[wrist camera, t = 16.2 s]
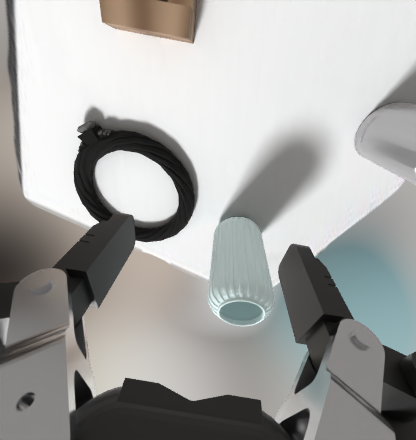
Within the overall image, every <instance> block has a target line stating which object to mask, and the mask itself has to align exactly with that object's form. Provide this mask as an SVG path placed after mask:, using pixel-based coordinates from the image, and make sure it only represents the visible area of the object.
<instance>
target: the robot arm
mask: <svg viewBox="0 0 416 440" xmlns="http://www.w3.org/2000/svg"><path fill="white" fill-rule="evenodd" d="M355 148H356V151H357V152H358V154H360V155H361V156H362V157H364V158H366V159H368V160H370V161H372V162H373V163H375V164H377V165H379V166H381V167H383V168H384V169H386V170H388V171H390V172H392V173H394V174H396V175H398V176H399V177H401V178H403V179H405V180H407V181H409V182H411V183H413V184H414V185H416V104H412V103H402V102H398V103H391V104H387V105H385V106H383V107H380V108H379V109H377V110H376V111H374V112H373V113H372V114H370V115H369V116H368V117H367V118H366V119H365V120H364V121H363V123H362V124H361V126H360V127H359V129H358V131H357V133H356V137H355ZM134 245H135V227H134V218H133V216H132V215H129V214H124V213H118V212H116V213H115V214H114V215H113V216H112V217H111V218H110V219H109V220H108V221H104V220H103V221H101V222H100V223H98V224H96V225H94V226H92V227H91V229H90V230H89V231H88V232H87V233H86V235H84V236H83V237H82V238H81V239H80V241H79V242H77V243H76V244H75V245H74V246H73V247H72V248H71V249H70V250H69V251H68V252H67V253H66V254H65V255H64V256H63V257H62V258H61V260H60V261H58V262H57V264H56V265H55V266H54V267H52V268H49V269H43V270H39V271H37V272H34V273H32V274H30V275H28V276H27V277H25V278H24V279H23V280H22V281H19V282H10V283H0V440H416V352H414V353H412V354H410V355H408V356H406V355H403V354H401V353H399V352H397V351H395V350H393V349H391V348H389V347H386V346H384V345H382V344H381V342H380V341H379V339H378V338H377V337H376V335H375V334H374V333H373V332H372V331H371V330H369V328H367V327H366V326H365V325H363V324H362V323H360V322H358V321H355V320H354V319H353V317H352V315H351V313H350V311H349V309H348V307H347V305H346V304H345V302H344V300H343V298H342V296H341V294H340V292H339V290H338V288H337V287H335V286H336V285H335V283H334V281H333V279H331V276H330V274H329V272H328V270H327V268H326V267H325V266H324V265H323V264H322V263H321V262H320V260H319V259H317V258H315V257H314V255H313V253H312V251H311V249H310V248H309V247H308V246H303V245H297V244H291V245H290V247H289V248H288V250H287V252H286V254H285V256H284V257H283V259H282V261H281V263H280V265H279V270H278V274H279V279H280V283H281V286H282V290H283V294H284V298H285V302H286V306H287V310H288V313H289V317H290V321H291V325H292V329H293V333H294V336H295V340H296V343H300V344H306V345H307V347H308V352H307V353H306V355H305V357H304V359H303V362H302V364H301V367H300V369H299V371H298V374H297V376H296V379H295V381H294V384H293V386H292V388H291V391H290V393H289V395H288V397H287V398H286V400H285V401H284V402H283V404H282V405H281V407H280V409H279V410H278V412H277V414H276V416H275V419H273V418H272V417H271V416H269V415H268V414H266V413H265V412H264V411H262V408H261V401H260V400H257V399H250V398H244V397H238V396H232V395H224V396H218V397H213V398H208V399H203V400H197V401H190V400H188V399H186V398H184V397H183V396H181V395H179V394H177V393H175V392H173V391H172V390H170V389H168V388H166V387H164V386H163V385H161V384H159V383H154V382H147V381H142V380H136V379H130V378H125V380H124V383H123V386H122V387H118V388H114V389H111V390H108V391H106V392H104V393H102V394H100V395H98V396H96V388H95V382H94V377H93V372H92V369H91V365H90V360H89V352H88V344H87V337H86V329H85V321H84V313H85V312H86V310H87V309H88V307H94V308H99V307H100V305H101V303H102V301H103V300H104V298H105V296H106V295H107V293H108V291H109V289H110V288H111V286H112V284H113V283H114V281H115V279H116V278H117V276H118V274H119V272H120V271H121V269H122V267H123V266H124V264H125V262H126V261H127V259H128V257H129V255H130V254H131V252H132V250H133V248H134Z"/></svg>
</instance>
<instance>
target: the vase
mask: <svg viewBox="0 0 416 440" xmlns="http://www.w3.org/2000/svg"><path fill="white" fill-rule="evenodd" d="M208 303H209V306H210V308H211V309H212V311H213V312H214V313H215V315H216V316H218V317H219V318H221V319H222V320H223V321H224V322H226V323H229V324H232V325H236V326H250V325H254V324H257V323H259V322H260V321H262V320H263V319H265V318H266V317H267V316H268V315H269V314H270V313H271V311H272V309H273V307H274V304H275V297H274V291H273V287H272V282H271V277H270V273H269V268H268V263H267V259H266V254H265V249H264V245H263V240H262V235H261V231H260V230H259V227H258V226H257V225H256V224H255V222H253V221H251V220H250V219H248V218H247V219H246V218H244V217H238V216H236V217H230V218H229V219H225V220H224V221H222V222H221V223H220V224H219V225H218V226H217V227H216V230H215V232H214V240H213V250H212V259H211V269H210V279H209V289H208Z"/></svg>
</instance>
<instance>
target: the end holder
mask: <svg viewBox="0 0 416 440" xmlns="http://www.w3.org/2000/svg"><path fill="white" fill-rule="evenodd" d="M196 2H197V0H100V9H101V17H102V22H103V23H105V24H107V25H109V26H111V27H113V28H115V29H119V30H124V31H129V32H135V33H140V34H145V35H151V36H156V37H161V38H167V39H172V40H177V41H183V42H188V43H193V40H194V28H195V15H196Z"/></svg>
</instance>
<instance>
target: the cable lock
mask: <svg viewBox="0 0 416 440" xmlns="http://www.w3.org/2000/svg"><path fill="white" fill-rule="evenodd" d="M77 131H78V132H80V133H83V134H81V135H79V136H78V138H79V139H81V140H82V142H81V144H80V146H79V150H78V152H79V153H78V155H77V158H76V160H75V163H74V183H75V187H76V191H77V193H78V195H79V197H80V200H81V202H82V204H83V205H84V206H85V207H86V209H87V210H88V212H89V213H90V215H91V216H92V217H94V218H95V219H96V220H97V221H99V222H101V221H103V220H104V221H108V220H109V219H110V218H111V217H112V216H113V215H112V214H110V213H109V211H108V210H107V209H106V208H105V207H104V206H103V205H102V203H101V202H100V201H99V199H98V198H97V195H96V192H95V189H94V186H93V182H92V175H93V170H94V167H95V165H96V162H97V161H98V160H99V159H100V158H102V157H103V156H104V155H106V154H108V153H111V152H114V151H117V150H124V151H130V152H137V153H140V154H142V155H144V156H146V157H148V158H149V159H151V160H153V161H155V162H156V163H158V164H159V165H160V166H161V167H162V168H163V169H164V170H165V171H166V173H167V174H168V175H169V176H170V177H171V178H172V180H173V182H174V185H175V187H176V189H177V192H178V195H179V206H178V210H177V213H176V215H175V217H174V218H173V219H172V220H171V221H170V222H169V223H167V224H166V225H164V226H162V227H158V228H152V229H148V228H137V227H135V240H137V241H142V242H152V241H161V240H164V239H167V238H170V237H172V236H174V235H177V234H178V233H179V232H180V231H181V230H182V229H183V228H184V227H185V226H186V225H187V224H188V221H189V220H190V218H191V216H192V213H193V209H194V192H193V185H192V182H191V179H190V177H189V174H188V173H187V171H186V170H185V168H184V166H183V165H182V163H181V162H180V161H179V160H178V159H177V158H176V157H175V156H174V155H173V154H172V152H171V151H169V150H168V149H167V148H166V147H164V146H163V145H162V144H160V143H159V142H156V141H154V140H152V139H150V138H148V137H147V136H144V135H141V134H138V133H135V132H129V131H114V130H105V129H104V130H102V128H101V126H98V127H95V122H94V121H90V122H87V123H85V124H83V125H81V126H80V127H78V130H77Z"/></svg>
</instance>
